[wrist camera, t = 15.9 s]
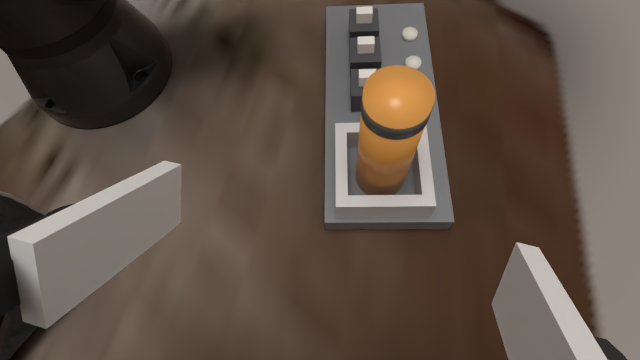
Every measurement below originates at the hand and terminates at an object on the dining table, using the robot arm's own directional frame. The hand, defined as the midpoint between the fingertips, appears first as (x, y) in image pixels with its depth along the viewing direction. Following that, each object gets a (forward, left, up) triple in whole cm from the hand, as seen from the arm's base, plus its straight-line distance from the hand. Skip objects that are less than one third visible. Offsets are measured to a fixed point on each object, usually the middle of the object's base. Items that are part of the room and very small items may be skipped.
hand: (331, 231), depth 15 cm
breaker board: (-16, +11, -19) cm, 27 cm away
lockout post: (-8, +7, -17) cm, 20 cm away
